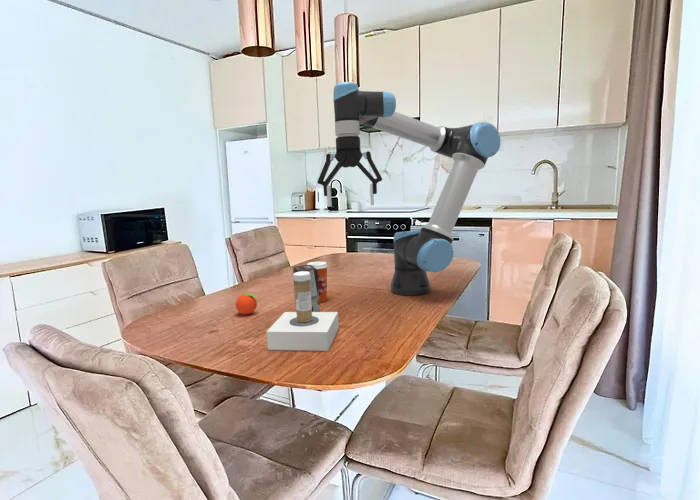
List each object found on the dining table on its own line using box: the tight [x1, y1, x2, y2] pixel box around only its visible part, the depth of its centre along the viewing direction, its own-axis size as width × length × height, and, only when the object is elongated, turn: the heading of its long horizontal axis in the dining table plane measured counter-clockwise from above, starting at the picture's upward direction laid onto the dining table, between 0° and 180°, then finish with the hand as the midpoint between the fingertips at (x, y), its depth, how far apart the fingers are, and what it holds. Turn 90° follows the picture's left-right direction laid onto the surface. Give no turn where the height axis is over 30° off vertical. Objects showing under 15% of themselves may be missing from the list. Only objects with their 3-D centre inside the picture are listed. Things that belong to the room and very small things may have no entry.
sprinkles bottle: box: [292, 271, 313, 322], centre depth 111 cm, size 5×5×13 cm
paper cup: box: [306, 260, 328, 304], centre depth 148 cm, size 8×8×14 cm
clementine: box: [235, 293, 259, 315], centre depth 137 cm, size 8×7×7 cm
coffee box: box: [292, 264, 321, 312], centre depth 131 cm, size 9×6×16 cm
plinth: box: [266, 311, 340, 352], centre depth 113 cm, size 16×16×5 cm
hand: (350, 205), depth 129 cm, fingers open, 13 cm apart
